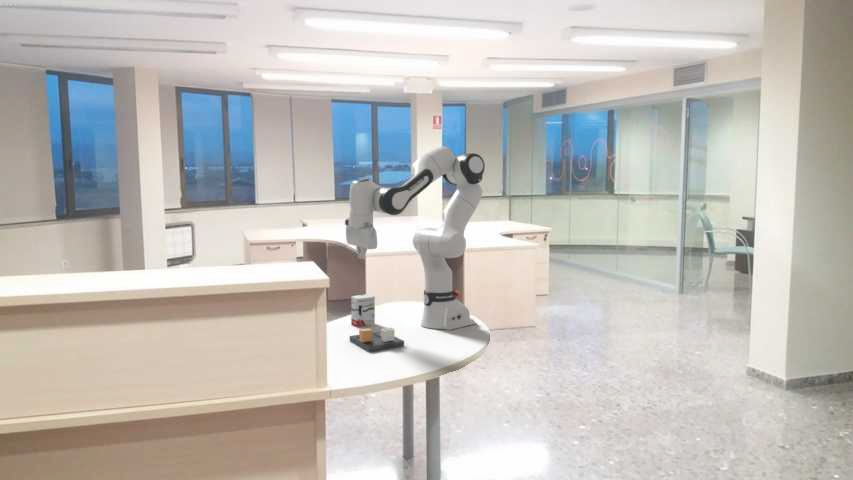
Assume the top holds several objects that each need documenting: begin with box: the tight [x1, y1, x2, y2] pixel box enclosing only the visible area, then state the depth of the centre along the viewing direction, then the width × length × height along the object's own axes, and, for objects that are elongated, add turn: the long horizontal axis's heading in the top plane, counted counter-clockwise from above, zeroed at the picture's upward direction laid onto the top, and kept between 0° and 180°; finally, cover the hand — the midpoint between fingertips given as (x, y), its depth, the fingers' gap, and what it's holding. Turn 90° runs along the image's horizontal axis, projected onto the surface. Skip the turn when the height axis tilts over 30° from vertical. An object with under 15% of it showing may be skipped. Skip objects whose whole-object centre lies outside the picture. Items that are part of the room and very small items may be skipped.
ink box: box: [350, 293, 376, 328], centre depth 262 cm, size 8×5×12 cm, turn 123°
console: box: [349, 331, 405, 353], centre depth 235 cm, size 14×16×2 cm
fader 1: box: [358, 327, 374, 342], centre depth 230 cm, size 4×2×4 cm, turn 121°
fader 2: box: [380, 327, 395, 342], centre depth 231 cm, size 4×2×4 cm, turn 121°
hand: (361, 258), depth 246 cm, fingers closed
